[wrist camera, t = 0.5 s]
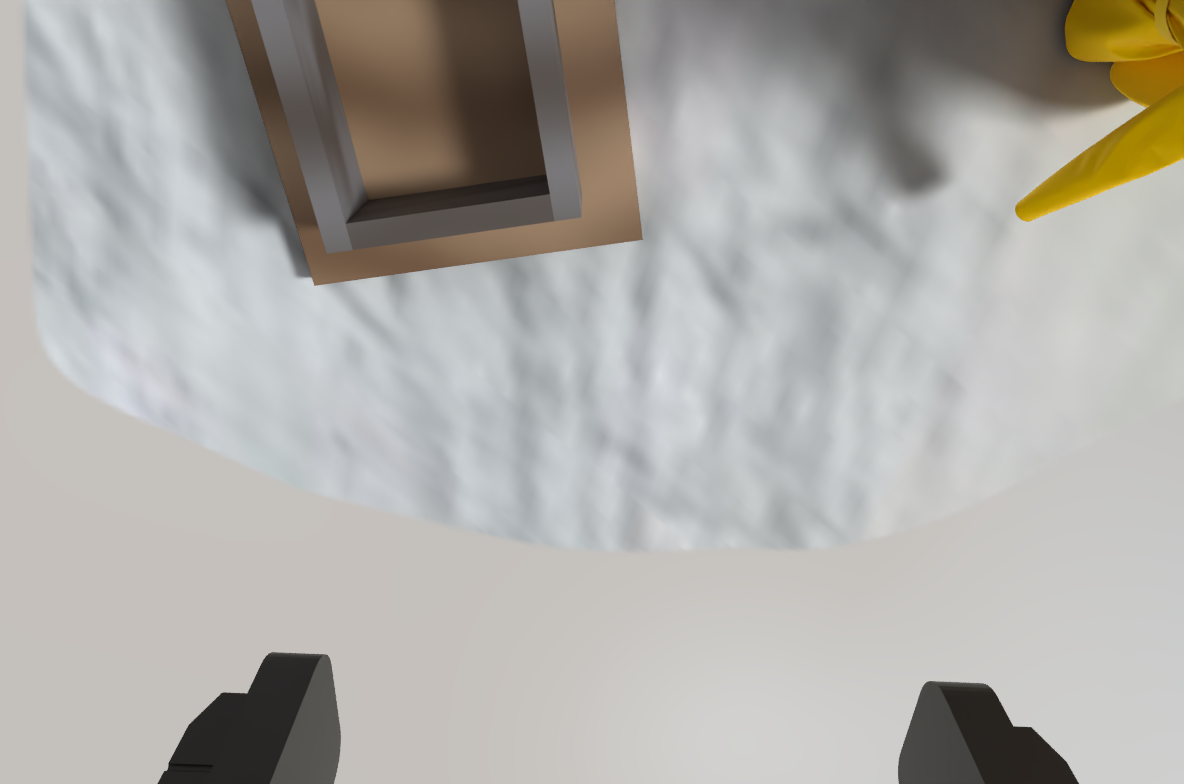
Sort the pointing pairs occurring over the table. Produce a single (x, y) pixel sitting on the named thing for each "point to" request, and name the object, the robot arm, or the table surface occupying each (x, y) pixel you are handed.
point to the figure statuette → (1140, 72)
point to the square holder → (443, 128)
